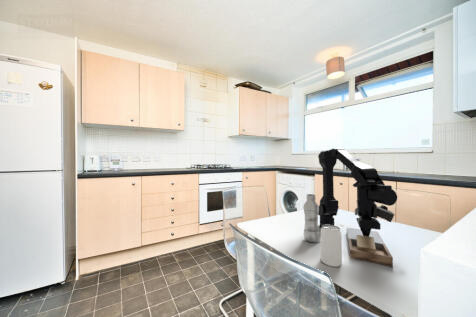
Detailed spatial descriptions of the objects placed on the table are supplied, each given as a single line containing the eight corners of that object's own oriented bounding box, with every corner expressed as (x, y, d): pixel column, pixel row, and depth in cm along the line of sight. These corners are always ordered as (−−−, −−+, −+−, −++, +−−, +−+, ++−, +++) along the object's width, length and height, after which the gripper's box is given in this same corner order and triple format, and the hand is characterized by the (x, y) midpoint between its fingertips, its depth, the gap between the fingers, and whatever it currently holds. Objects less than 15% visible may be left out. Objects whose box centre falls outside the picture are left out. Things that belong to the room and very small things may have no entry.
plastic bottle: (318, 238, 83) (318, 194, 84) (320, 245, 77) (319, 196, 77) (303, 236, 86) (303, 193, 86) (303, 243, 79) (303, 195, 79)
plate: (348, 245, 77) (348, 238, 77) (346, 233, 89) (346, 227, 89) (385, 252, 71) (384, 244, 71) (377, 238, 83) (377, 231, 83)
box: (350, 258, 67) (350, 249, 67) (348, 245, 76) (348, 238, 76) (392, 266, 61) (392, 257, 61) (385, 252, 71) (385, 244, 71)
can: (317, 257, 67) (317, 224, 67) (334, 256, 68) (334, 223, 68) (327, 268, 61) (327, 231, 61) (346, 267, 61) (345, 230, 61)
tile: (357, 250, 71) (357, 245, 70) (356, 239, 75) (356, 234, 74) (375, 254, 68) (375, 249, 67) (373, 241, 72) (373, 237, 71)
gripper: (399, 207, 61) (400, 254, 61) (385, 196, 78) (386, 234, 78) (359, 203, 66) (359, 247, 66) (354, 194, 83) (354, 229, 83)
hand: (366, 239), depth 73 cm, fingers closed
